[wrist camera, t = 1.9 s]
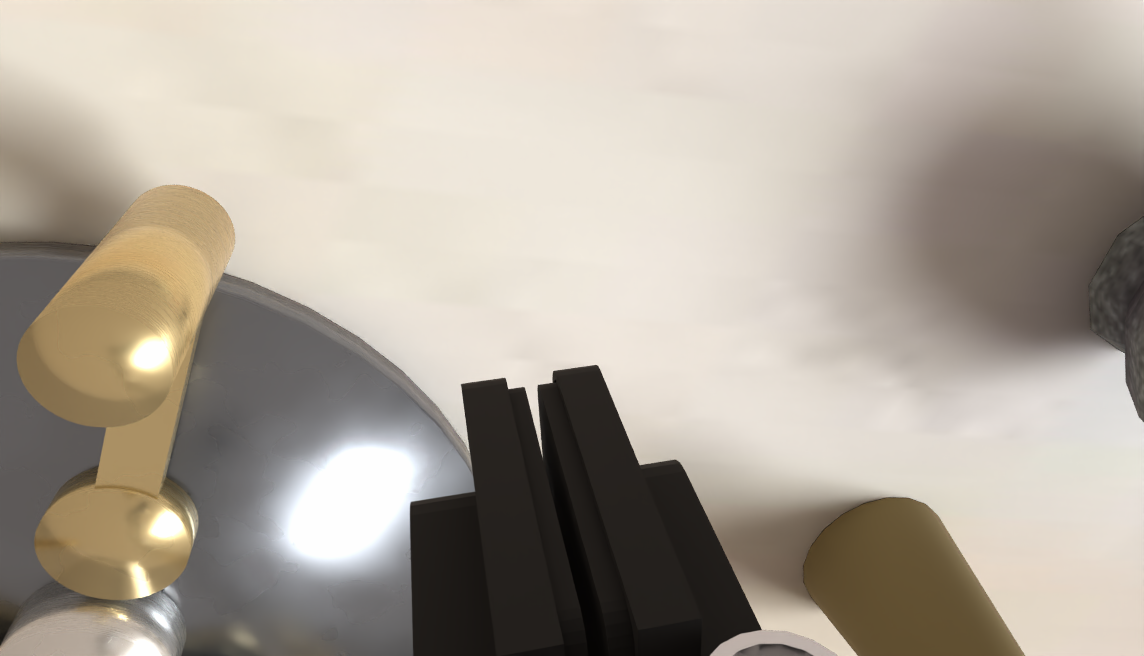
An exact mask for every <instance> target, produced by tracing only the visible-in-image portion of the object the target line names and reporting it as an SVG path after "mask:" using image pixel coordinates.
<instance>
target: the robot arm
mask: <svg viewBox="0 0 1144 656" xmlns="http://www.w3.org/2000/svg"><path fill="white" fill-rule="evenodd" d="M461 387H462V395H463V403H464V410H465V418H466V426H467V433H468V441H469V449H470V456H471V464H472V472H473V479H474V487H475V492H469V493H463V494H457V495H450V496H444V497H438V498H431V499H425V500H419V501H413V502H411V503H410V547H411V589H412V630H413V656H837V655H836V654H835V653H834V652H832V651H830V650H829V649H827V648H826V647H824V646H822V645H821V644H819V643H817V642H816V641H814V640H812V639H809V638H806V637H803V636H800V635H797V634H794V633H790V632H786V631H773V630H762V629H761V627H760V625H759V623H758V621H757V619H756V617H755V615H754V613H753V611H752V609H751V606H750V604H749V602H748V600H747V598H746V596H745V594H744V592H743V590H742V588H741V586H740V584H739V582H738V580H737V578H736V575H735V573H734V571H733V569H732V567H731V565H730V563H729V561H728V559H727V557H726V555H725V553H724V551H723V549H722V546H721V544H720V542H719V540H718V538H717V536H716V534H715V532H714V530H713V528H712V526H711V524H710V522H709V520H708V517H707V515H706V513H705V511H704V509H703V507H702V505H701V503H700V501H699V499H698V497H697V495H696V493H695V491H694V488H693V486H692V484H691V482H690V480H689V478H688V476H687V474H686V472H685V470H684V469H683V467H682V465H681V464H680V462H678V461H677V460H670V461H664V462H658V463H651V464H645V465H639V463H638V461H637V458H636V456H635V453H634V451H633V448H632V446H631V444H630V441H629V439H628V436H627V434H626V431H625V429H624V427H623V424H622V422H621V419H620V417H619V414H618V412H617V410H616V407H615V405H614V402H613V400H612V397H611V395H610V393H609V390H608V388H607V385H606V383H605V380H604V378H603V376H602V373H601V371H600V369H599V367H598V366H597V365H593V366H586V367H578V368H571V369H564V370H557V371H553V383H549V384H542V385H538V403H539V416H540V428H541V440H542V453H543V458H542V454H541V450H540V446H539V442H538V438H537V434H536V430H535V426H534V422H533V418H532V414H531V410H530V406H529V402H528V398H527V394H526V391H525V388H524V387H521V388H514V389H508V387H507V382H506V379H505V378H500V379H493V380H486V381H479V382H472V383H465V384H461Z"/></svg>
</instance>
